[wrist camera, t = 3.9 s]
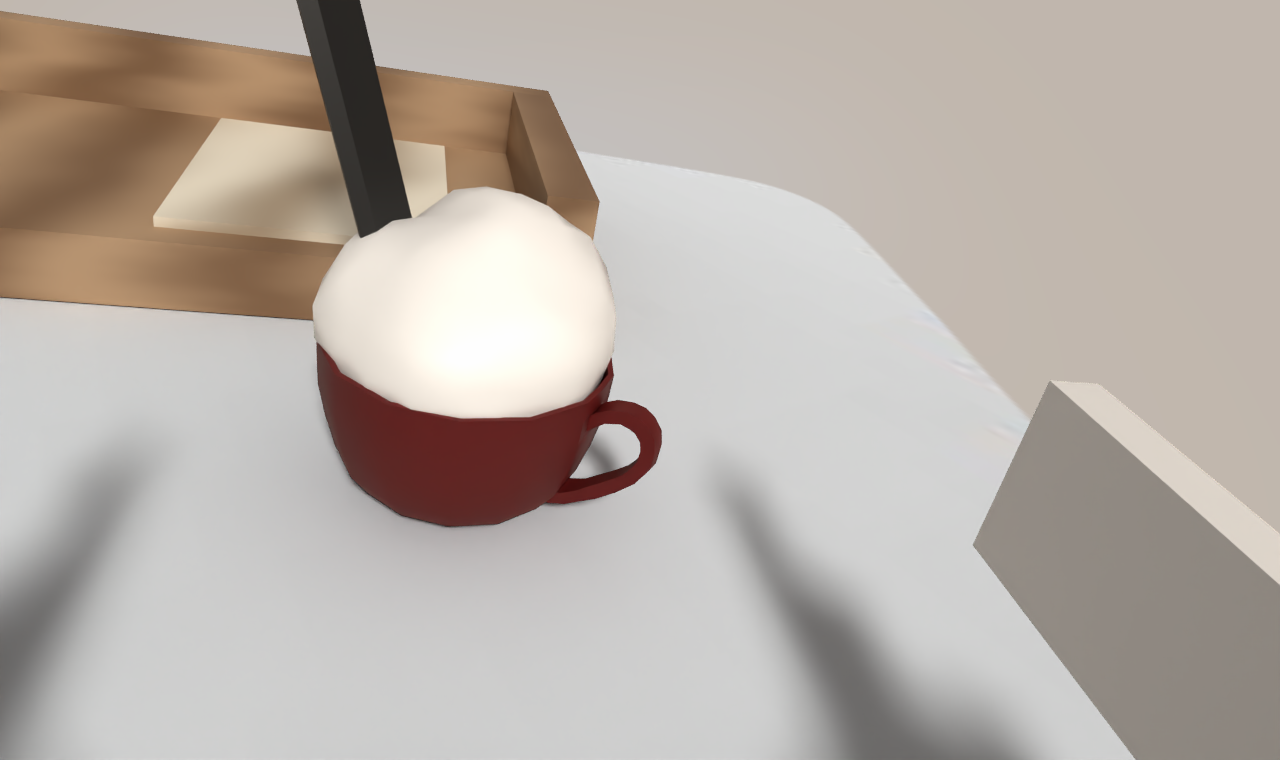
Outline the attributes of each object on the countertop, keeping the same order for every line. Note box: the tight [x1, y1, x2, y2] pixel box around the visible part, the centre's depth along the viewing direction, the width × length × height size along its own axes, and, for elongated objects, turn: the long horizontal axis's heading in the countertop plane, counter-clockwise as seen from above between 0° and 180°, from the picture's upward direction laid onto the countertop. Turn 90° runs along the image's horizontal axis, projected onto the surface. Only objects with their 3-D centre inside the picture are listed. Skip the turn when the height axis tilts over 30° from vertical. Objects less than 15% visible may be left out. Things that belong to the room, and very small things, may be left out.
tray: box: [0, 11, 599, 320], centre depth 29 cm, size 30×13×4 cm, turn 101°
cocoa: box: [296, 0, 662, 527], centre depth 19 cm, size 10×6×12 cm, turn 46°
